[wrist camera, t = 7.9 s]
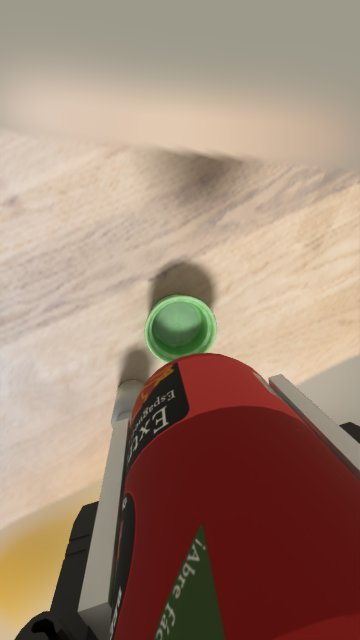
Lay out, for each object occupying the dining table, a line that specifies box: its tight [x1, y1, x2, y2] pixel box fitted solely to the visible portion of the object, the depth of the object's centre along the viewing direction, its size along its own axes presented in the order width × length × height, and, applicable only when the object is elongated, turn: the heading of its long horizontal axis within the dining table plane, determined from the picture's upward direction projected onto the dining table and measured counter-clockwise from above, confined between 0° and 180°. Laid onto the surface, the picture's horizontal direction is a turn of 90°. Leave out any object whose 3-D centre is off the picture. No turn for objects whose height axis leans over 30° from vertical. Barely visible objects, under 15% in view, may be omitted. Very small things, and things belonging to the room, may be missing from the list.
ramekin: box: [144, 294, 217, 363], centre depth 29 cm, size 9×9×4 cm
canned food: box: [109, 353, 360, 640], centre depth 8 cm, size 8×8×11 cm
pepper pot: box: [111, 380, 144, 428], centre depth 30 cm, size 4×4×8 cm
